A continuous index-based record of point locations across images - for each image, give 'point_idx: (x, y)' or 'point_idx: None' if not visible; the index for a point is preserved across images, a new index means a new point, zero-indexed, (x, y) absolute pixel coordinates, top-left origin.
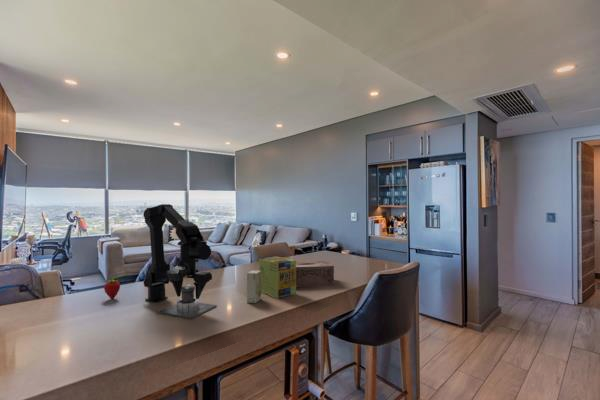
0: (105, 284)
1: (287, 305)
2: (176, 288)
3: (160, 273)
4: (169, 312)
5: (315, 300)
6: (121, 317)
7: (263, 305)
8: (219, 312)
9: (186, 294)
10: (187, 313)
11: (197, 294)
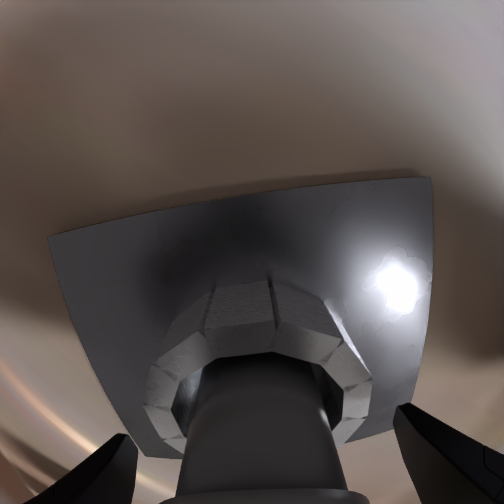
0: None
1: (19, 465)
2: (456, 465)
3: None
4: (319, 211)
5: (27, 486)
6: (498, 48)
7: (46, 467)
8: (55, 392)
9: (202, 459)
10: (138, 283)
11: (78, 465)
